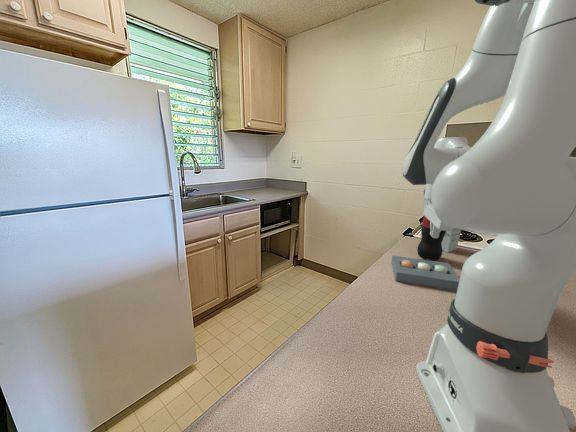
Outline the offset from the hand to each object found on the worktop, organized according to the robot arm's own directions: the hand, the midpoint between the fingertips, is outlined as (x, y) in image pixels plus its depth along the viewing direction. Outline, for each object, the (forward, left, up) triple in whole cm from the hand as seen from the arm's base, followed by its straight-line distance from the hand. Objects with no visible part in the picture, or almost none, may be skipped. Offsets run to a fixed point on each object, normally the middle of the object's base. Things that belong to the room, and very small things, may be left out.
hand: (433, 236), depth 77 cm
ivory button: (+1, +1, -12) cm, 12 cm away
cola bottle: (+19, -4, -14) cm, 24 cm away
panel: (+1, +1, -14) cm, 14 cm away
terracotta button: (+1, +6, -12) cm, 14 cm away
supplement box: (+33, -13, -14) cm, 38 cm away
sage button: (+1, -4, -12) cm, 13 cm away
